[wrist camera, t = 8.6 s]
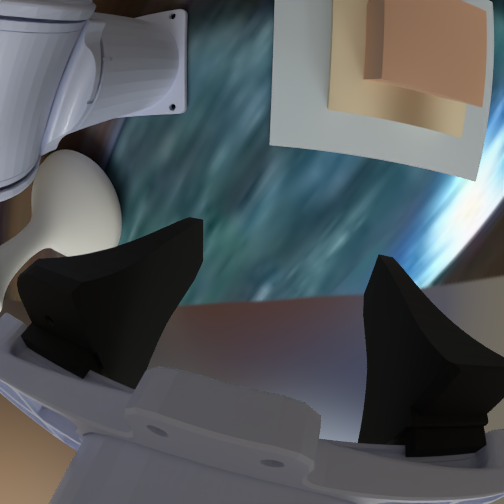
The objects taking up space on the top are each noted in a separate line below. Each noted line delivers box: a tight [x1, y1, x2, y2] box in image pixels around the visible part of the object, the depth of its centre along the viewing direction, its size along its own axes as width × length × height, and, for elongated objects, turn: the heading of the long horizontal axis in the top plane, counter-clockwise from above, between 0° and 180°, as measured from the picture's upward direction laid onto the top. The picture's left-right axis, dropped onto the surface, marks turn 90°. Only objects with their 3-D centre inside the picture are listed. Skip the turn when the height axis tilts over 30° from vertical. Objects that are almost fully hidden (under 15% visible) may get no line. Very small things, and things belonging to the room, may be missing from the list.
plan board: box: [270, 0, 494, 181], centre depth 14 cm, size 15×14×1 cm
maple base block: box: [327, 0, 467, 138], centre depth 13 cm, size 8×8×3 cm
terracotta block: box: [363, 0, 487, 108], centre depth 9 cm, size 4×4×5 cm
